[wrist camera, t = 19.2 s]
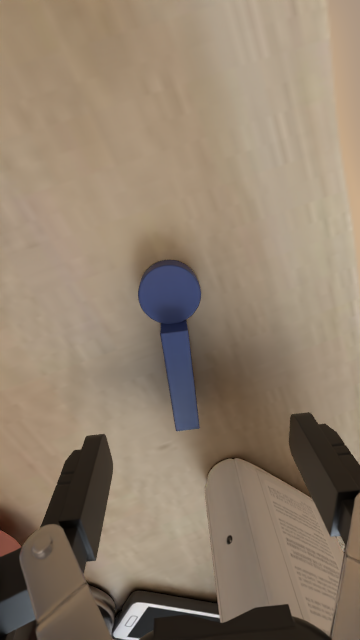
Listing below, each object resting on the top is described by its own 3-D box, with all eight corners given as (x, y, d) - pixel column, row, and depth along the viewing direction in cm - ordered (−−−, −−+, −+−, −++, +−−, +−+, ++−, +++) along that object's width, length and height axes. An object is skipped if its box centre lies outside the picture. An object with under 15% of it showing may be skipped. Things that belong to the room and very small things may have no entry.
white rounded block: (193, 481, 22) (223, 781, 11) (231, 446, 21) (307, 745, 10) (287, 528, 25) (387, 804, 14) (325, 499, 24) (469, 778, 13)
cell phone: (133, 586, 28) (132, 600, 27) (269, 610, 30) (272, 623, 29) (108, 625, 30) (106, 639, 29) (235, 644, 33) (236, 656, 32)
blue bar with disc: (209, 402, 19) (214, 427, 17) (161, 408, 19) (160, 433, 17) (195, 255, 15) (200, 265, 13) (135, 263, 15) (130, 274, 13)
